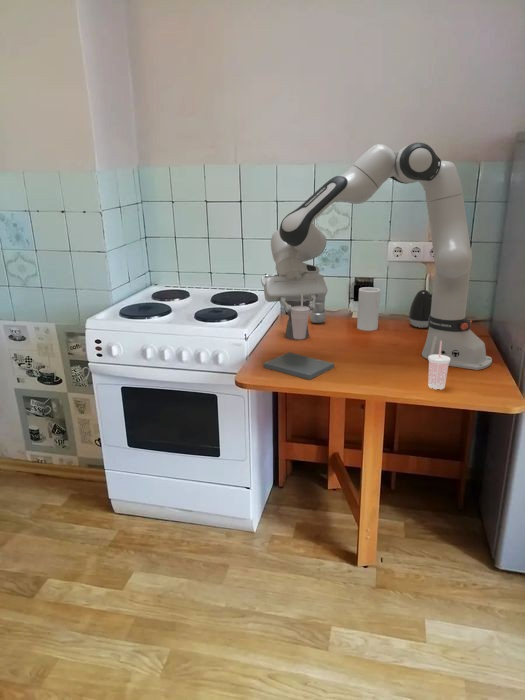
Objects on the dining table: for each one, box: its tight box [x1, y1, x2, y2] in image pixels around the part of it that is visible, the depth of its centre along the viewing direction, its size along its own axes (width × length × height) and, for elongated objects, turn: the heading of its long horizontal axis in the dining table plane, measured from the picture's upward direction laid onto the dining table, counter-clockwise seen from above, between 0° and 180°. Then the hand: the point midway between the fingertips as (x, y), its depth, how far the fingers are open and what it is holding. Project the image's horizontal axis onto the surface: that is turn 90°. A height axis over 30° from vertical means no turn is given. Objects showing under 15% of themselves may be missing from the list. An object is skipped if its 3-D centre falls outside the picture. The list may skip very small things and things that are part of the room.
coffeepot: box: [284, 299, 311, 341], centre depth 205 cm, size 15×9×18 cm, turn 36°
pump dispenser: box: [408, 289, 433, 329], centre depth 219 cm, size 10×10×15 cm
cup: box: [356, 286, 381, 332], centre depth 216 cm, size 8×8×16 cm
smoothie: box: [291, 294, 311, 340], centre depth 169 cm, size 6×6×14 cm
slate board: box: [263, 352, 335, 381], centre depth 174 cm, size 18×14×2 cm
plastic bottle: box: [309, 274, 327, 324], centre depth 223 cm, size 6×7×20 cm
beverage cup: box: [427, 341, 450, 390], centre depth 156 cm, size 6×6×14 cm
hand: (300, 310), depth 168 cm, fingers closed on smoothie, 6 cm apart
